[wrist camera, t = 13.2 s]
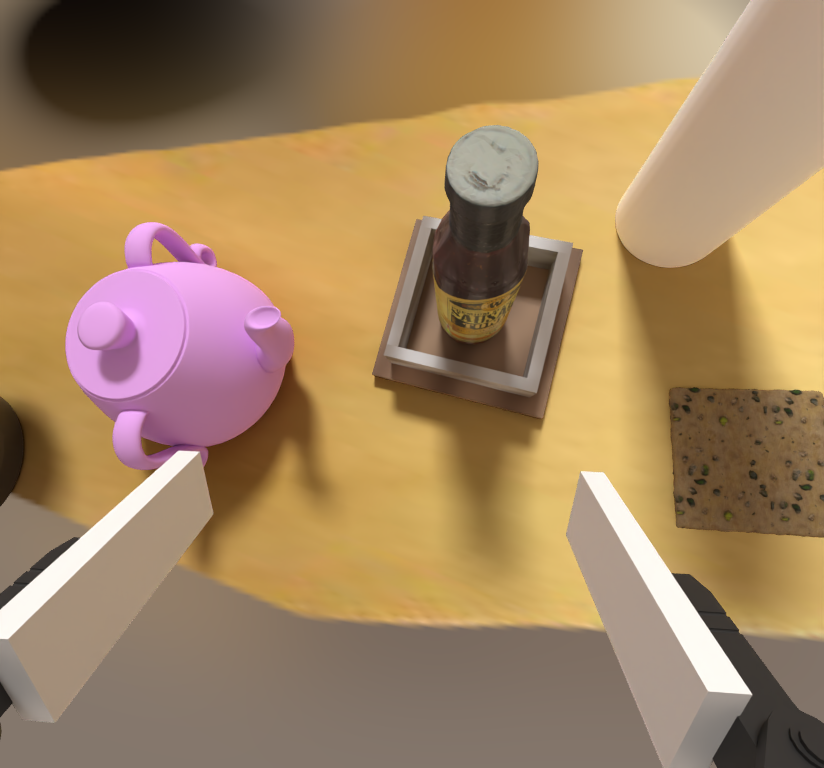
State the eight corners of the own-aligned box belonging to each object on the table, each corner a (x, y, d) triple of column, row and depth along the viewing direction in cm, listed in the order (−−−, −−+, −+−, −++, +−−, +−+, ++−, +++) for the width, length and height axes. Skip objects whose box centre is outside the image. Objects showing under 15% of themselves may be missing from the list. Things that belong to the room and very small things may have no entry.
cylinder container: (617, 172, 37) (1185, -820, 8) (725, 173, 36) (1904, -1029, 6) (613, 265, 36) (1266, -494, 7) (724, 269, 35) (2158, -661, 5)
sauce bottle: (451, 357, 36) (433, 260, 16) (430, 297, 37) (388, 139, 18) (520, 332, 35) (584, 202, 16) (495, 272, 36) (527, 81, 17)
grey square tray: (374, 375, 38) (362, 367, 33) (417, 224, 39) (411, 197, 35) (540, 418, 35) (551, 416, 31) (579, 254, 37) (595, 229, 32)
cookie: (672, 529, 33) (678, 531, 32) (665, 387, 35) (671, 385, 34) (833, 539, 31) (845, 543, 30) (818, 390, 33) (829, 389, 32)
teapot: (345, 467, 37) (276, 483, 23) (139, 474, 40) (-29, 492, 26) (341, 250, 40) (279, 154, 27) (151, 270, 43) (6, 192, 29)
